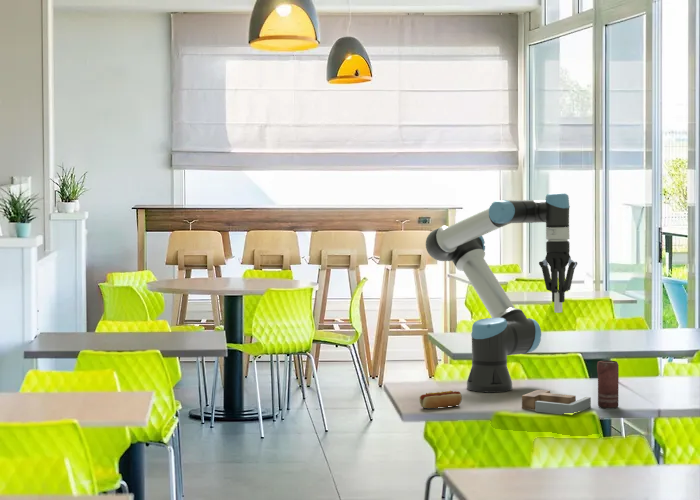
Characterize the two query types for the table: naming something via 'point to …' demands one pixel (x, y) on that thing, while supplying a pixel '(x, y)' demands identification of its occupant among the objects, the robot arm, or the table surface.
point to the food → (440, 399)
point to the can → (608, 383)
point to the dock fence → (563, 406)
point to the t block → (545, 398)
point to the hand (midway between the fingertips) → (558, 312)
